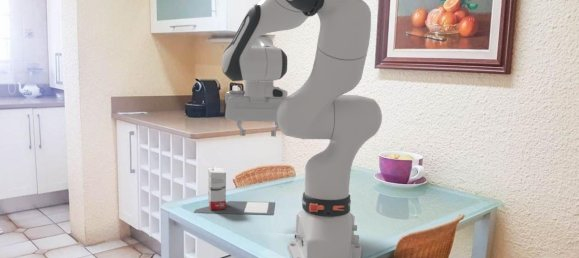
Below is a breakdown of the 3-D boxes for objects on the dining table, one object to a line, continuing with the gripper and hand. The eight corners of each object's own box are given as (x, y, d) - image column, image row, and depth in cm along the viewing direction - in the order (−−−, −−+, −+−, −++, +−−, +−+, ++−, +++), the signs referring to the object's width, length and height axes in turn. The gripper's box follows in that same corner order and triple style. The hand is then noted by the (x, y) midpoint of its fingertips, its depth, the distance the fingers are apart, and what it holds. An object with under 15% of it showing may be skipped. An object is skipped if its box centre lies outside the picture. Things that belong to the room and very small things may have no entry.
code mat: (273, 215, 139) (273, 214, 139) (193, 212, 139) (193, 212, 139) (274, 202, 152) (274, 202, 152) (202, 200, 152) (202, 200, 152)
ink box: (226, 209, 142) (226, 172, 141) (210, 210, 141) (210, 172, 139) (223, 201, 150) (223, 166, 149) (207, 202, 149) (208, 166, 148)
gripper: (223, 90, 138) (223, 136, 140) (291, 92, 138) (290, 138, 139) (226, 90, 144) (226, 133, 146) (291, 91, 144) (290, 135, 146)
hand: (258, 135), depth 143 cm, fingers open, 8 cm apart
